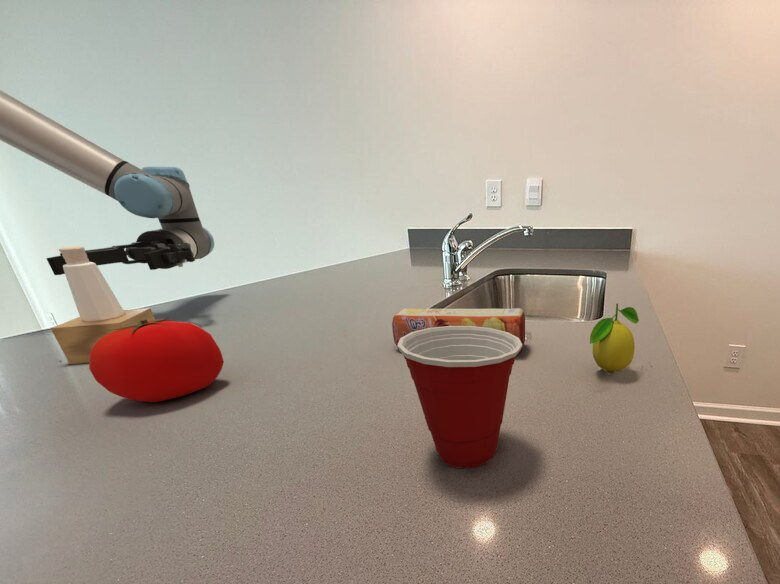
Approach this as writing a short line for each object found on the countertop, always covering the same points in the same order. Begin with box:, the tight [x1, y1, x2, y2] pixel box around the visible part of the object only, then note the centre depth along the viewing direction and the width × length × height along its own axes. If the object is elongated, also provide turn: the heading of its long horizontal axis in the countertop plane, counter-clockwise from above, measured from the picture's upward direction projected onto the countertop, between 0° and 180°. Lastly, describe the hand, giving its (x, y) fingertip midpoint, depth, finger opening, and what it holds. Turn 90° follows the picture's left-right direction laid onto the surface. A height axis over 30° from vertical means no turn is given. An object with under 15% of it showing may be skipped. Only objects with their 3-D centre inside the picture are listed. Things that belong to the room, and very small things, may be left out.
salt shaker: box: [58, 245, 125, 322], centre depth 64 cm, size 5×5×11 cm
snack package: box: [391, 307, 526, 354], centre depth 65 cm, size 21×7×7 cm, turn 79°
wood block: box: [50, 307, 156, 365], centre depth 68 cm, size 9×9×6 cm
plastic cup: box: [396, 326, 523, 469], centre depth 38 cm, size 11×11×12 cm
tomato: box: [88, 317, 225, 403], centre depth 52 cm, size 11×13×10 cm
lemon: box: [589, 303, 640, 375], centre depth 55 cm, size 7×6×10 cm
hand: (102, 264), depth 68 cm, fingers open, 13 cm apart
